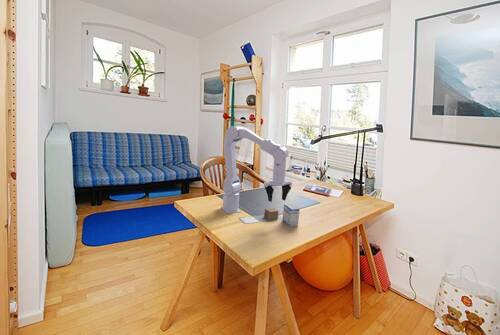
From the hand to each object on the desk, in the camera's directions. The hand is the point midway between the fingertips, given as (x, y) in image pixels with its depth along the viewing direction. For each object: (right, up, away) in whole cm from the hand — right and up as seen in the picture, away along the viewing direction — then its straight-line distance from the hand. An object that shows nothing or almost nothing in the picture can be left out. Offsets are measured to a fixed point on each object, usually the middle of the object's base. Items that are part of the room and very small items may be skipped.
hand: (276, 200), depth 132 cm
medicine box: (+6, -11, 0) cm, 13 cm away
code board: (-8, -10, +3) cm, 13 cm away
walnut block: (-2, -9, +6) cm, 11 cm away
